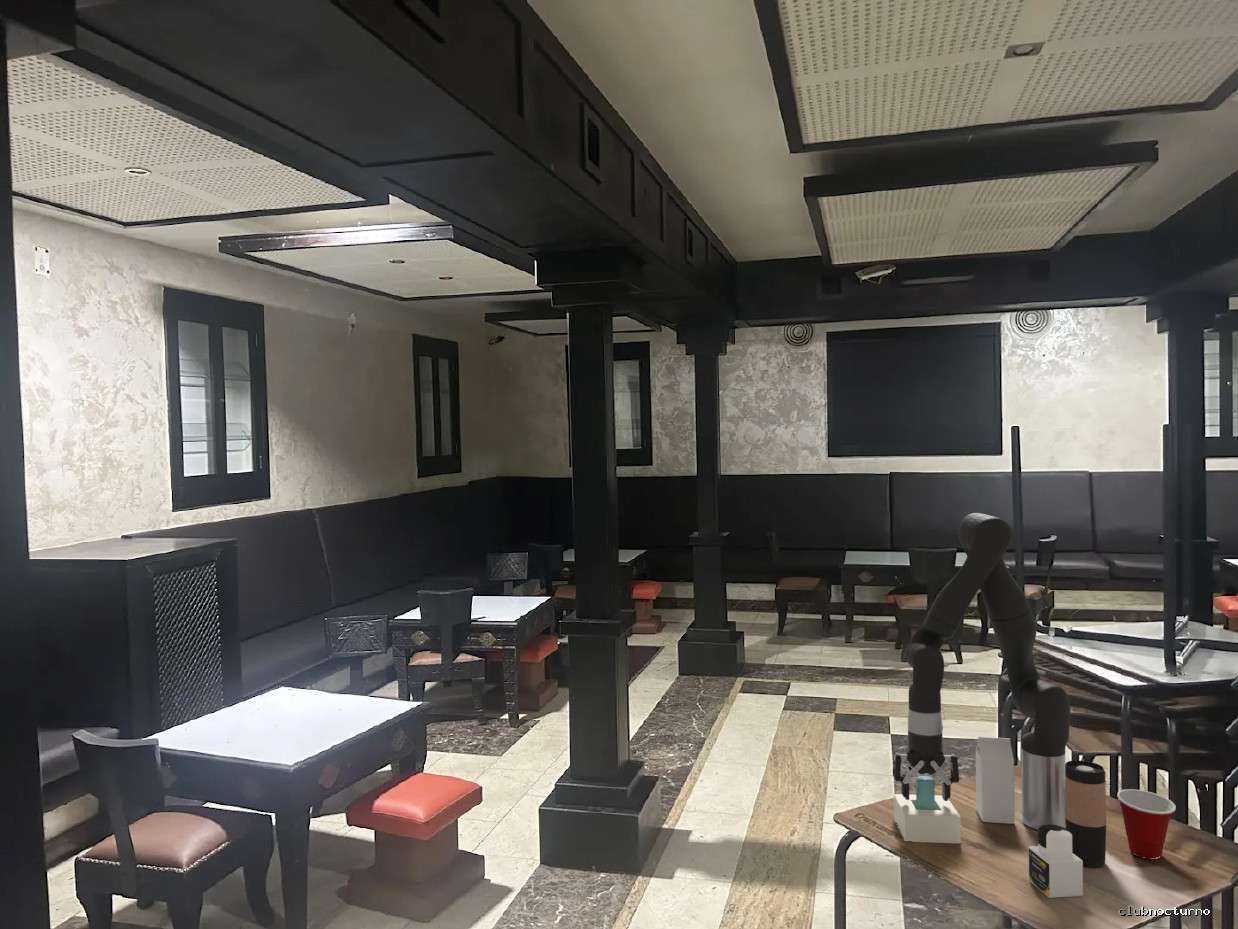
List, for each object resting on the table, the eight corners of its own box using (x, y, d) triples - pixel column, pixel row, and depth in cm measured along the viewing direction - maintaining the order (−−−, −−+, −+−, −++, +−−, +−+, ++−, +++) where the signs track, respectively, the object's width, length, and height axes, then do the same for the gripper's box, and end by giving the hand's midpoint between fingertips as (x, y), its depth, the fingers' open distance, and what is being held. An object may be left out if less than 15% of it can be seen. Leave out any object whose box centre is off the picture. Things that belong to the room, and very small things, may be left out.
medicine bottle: (1028, 881, 174) (1027, 822, 174) (1061, 879, 174) (1061, 820, 174) (1048, 899, 167) (1048, 837, 167) (1083, 896, 167) (1083, 835, 167)
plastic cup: (1152, 870, 178) (1152, 812, 178) (1105, 848, 188) (1105, 793, 188) (1188, 860, 182) (1188, 804, 182) (1140, 839, 192) (1140, 786, 192)
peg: (932, 827, 199) (932, 776, 199) (936, 835, 195) (936, 782, 195) (914, 827, 200) (914, 775, 200) (918, 834, 196) (918, 782, 196)
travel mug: (1057, 856, 184) (1056, 763, 184) (1082, 849, 187) (1081, 758, 187) (1089, 872, 177) (1088, 775, 177) (1115, 864, 180) (1114, 769, 180)
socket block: (946, 821, 203) (945, 795, 203) (960, 843, 191) (960, 816, 191) (893, 819, 204) (893, 794, 204) (905, 841, 192) (904, 814, 192)
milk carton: (1014, 824, 200) (1013, 743, 200) (982, 822, 202) (981, 741, 202) (1007, 812, 207) (1006, 734, 207) (976, 810, 209) (975, 732, 209)
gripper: (952, 724, 200) (953, 794, 200) (889, 723, 202) (890, 792, 202) (961, 735, 193) (962, 807, 193) (896, 733, 194) (897, 805, 195)
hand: (925, 799), depth 198 cm, fingers open, 8 cm apart
